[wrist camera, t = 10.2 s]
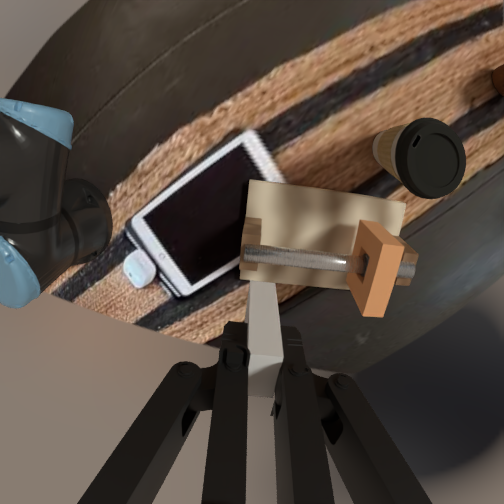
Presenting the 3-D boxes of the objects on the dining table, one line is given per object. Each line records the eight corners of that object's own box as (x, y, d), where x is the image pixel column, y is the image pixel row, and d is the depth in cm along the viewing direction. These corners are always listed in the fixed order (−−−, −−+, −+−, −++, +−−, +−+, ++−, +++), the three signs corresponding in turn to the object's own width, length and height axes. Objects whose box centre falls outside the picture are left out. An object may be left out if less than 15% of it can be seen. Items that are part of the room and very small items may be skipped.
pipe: (244, 258, 43) (242, 268, 40) (246, 236, 42) (244, 245, 39) (404, 275, 43) (412, 285, 40) (409, 255, 42) (418, 264, 39)
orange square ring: (345, 280, 47) (362, 316, 38) (359, 219, 44) (383, 243, 34) (363, 282, 47) (382, 317, 38) (378, 222, 44) (404, 246, 34)
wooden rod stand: (240, 275, 52) (235, 304, 44) (249, 179, 46) (246, 191, 38) (380, 289, 52) (398, 316, 44) (403, 202, 46) (428, 217, 38)
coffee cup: (397, 191, 46) (444, 218, 32) (349, 157, 44) (385, 170, 30) (426, 142, 42) (481, 153, 28) (380, 105, 41) (427, 100, 27)
